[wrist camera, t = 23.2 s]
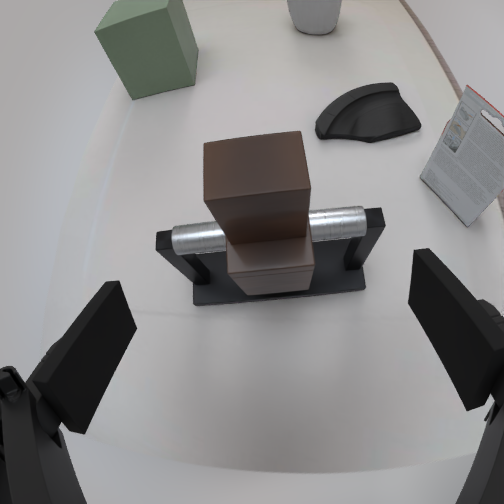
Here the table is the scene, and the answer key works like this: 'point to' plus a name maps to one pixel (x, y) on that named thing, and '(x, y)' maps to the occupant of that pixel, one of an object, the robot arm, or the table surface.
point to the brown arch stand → (262, 210)
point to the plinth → (149, 45)
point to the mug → (314, 15)
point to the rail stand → (323, 282)
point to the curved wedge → (367, 115)
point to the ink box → (468, 159)
